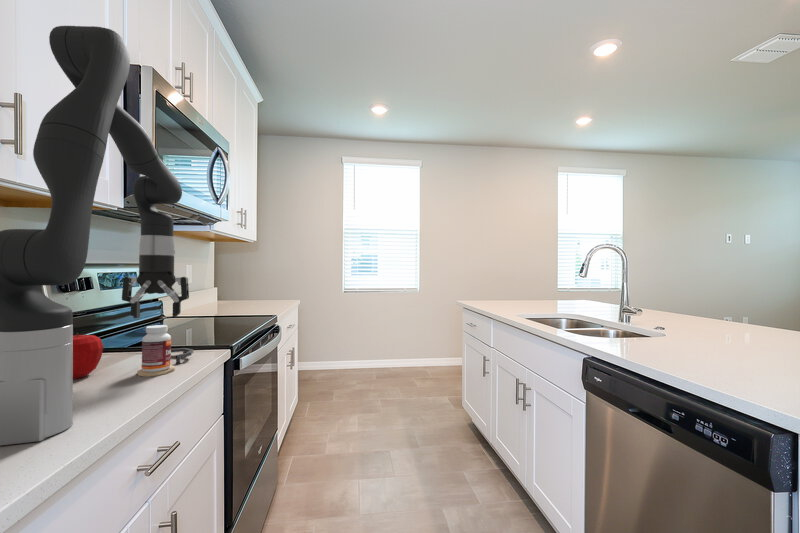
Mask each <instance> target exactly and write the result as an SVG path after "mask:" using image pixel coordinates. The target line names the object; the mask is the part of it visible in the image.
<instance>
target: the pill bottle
mask: <svg viewBox="0 0 800 533" xmlns="http://www.w3.org/2000/svg"><path fill="white" fill-rule="evenodd" d="M168 330H169V327H168V325H167V324H166V325H165V324H158V325H157V324H156V325H148V326H146V327H145V333H146V335H144V336H143V337H142V340H141V369H142V370H143V371H144V372H158V371H163V370H167V369H169V368H170V366H171V363H172V359H171V353H172V352H171V349H172V336H171V334H169V333H168Z"/></svg>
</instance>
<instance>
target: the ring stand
mask: <svg viewBox="0 0 800 533" xmlns="http://www.w3.org/2000/svg"><path fill="white" fill-rule="evenodd" d="M180 352H181V353H180ZM194 352H195V351H194V348H193V349H192V348H187V347H181V348H178V347H177V348H171V353H179V354H172V355H171V360H175V364H176V365H180V364H181V359H182V358H188V357H190V356H192V355H193V353H194Z"/></svg>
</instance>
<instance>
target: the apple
mask: <svg viewBox="0 0 800 533" xmlns="http://www.w3.org/2000/svg"><path fill="white" fill-rule="evenodd" d="M103 352H104V344H103V341H102V339H101V338H100V337H98V336H96V335H94V334H79V333H78V332H76V334H75V335H74V334H73V380H77V379H81V378H84V377H87V376H88V375H89V374H91V373H92V372H93V371H94V370H96V369H97V367H98V365H99V363H100V361H101V359H102V356H103Z"/></svg>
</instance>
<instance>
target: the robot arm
mask: <svg viewBox="0 0 800 533" xmlns="http://www.w3.org/2000/svg"><path fill="white" fill-rule="evenodd" d="M48 39H49V42H48V43H49V47H50V50H51V52H52V54H53V56H54V59H55V61H56V62H57V64H58V65H59V68H60V69H61V70H62V72H63V73H64V75H65V76H66V77H67V79H68V80H69V81H70V83H71V84H72V85H73V86H74V89H72V91H71V92H69V93H68V94H67V95H66V96H65V97H63V98H62V99H61V100H59V101H58V103H56V104H55V105H53V106H52V108H51V109H50V110H49V111H48V112H47V113H46V114H45V115H44V116H43V118H42V120H41V122H40V125H39V128H38V130H37V135H36V138H35V141H34V144H33V145H34V146H33V149H32V150H33V152H32V156H33V160H34V163H35V165H36V167H37V170H38V173H39V174H40V175H41V178H42V179H43V182H44V183H45V185H46V186H47V188H48V191H49V194H50V197H51V208H50V214H49V219H48V222H47V224H46V227H45V228H44V229H39V228H38V229H36V228H35V229H33V228H31V229H30V228H29V229H28V228H10V229H8V228H7V229H3V230H0V446H8V445H15V444H26V443H34V442H41V441H44V440H45V439H47V438H49V437H51V436H54V435H58V434H59V433H61V432H64V431H66V430H68V429H69V428H70V427H71V426H72V425H73V424H74V423H73V421H74V420H73V419H74V418H73V417H74V414H73V413H74V412H73V411H74V409H73V408H74V405H73V404H74V400H73V398H74V397H73V395H74V389H73V387H74V384H73V383H74V381H73V380H74V379H73V336H74V328H73V327H74V325H73V323H74V321H73V320H74V315H73V310H72V309H71V307H69V306H67V305H65V304H62V303H60V302H59V303H58V302H56V301H54V300H52V299H50V298H49V297H48V296H47V295H46V294H45V292H44V291H43V290H44V289H43V286H65V285H70V284H72V283H74V282H75V281H77V280H78V279H79V277H80V276H81V275H82V273H83V271H84V268H85V266H86V263H87V257H88V252H89V244H90V242H89V241H90V232H91V222H92V221H91V220H92V213H93V206H94V201H95V195H96V191H97V185H98V182H99V177H100V174H101V170H102V167H103V163H104V159H105V154H106V151H107V150H106V149H107V144H108V138H109V135H110V137H111V138H112V141H113V142H114V144H115V146H116V147H117V149H118V151H119V153H120V155H121V157H122V158H123V160H124V162H125V164H126V166H127V168H128V169H129V170H130V171H132V172H133V173H135V174H138V175H141V176H138V177H137V178H136V179H135V180H134V182H133V185H132V194H133V198H134V201H135V204H136V207H137V211H138V215H139V219H140V239H139V245H138V248H139V249H138V252H139V253H138V276H137V277H133V276H125V277H123V279H122V289H121V291H122V292H121V293H122V294H121V301H123V302H129V303H130V316H131V317H133V319H139V318H140V317H141V303H140V301H141V300H142V299H143V298H144V297H145V296H146V295H147V294H148V295H153V294H158V295H160V294H161V295H163V294H166V295H167V296H168V297H170V299H171V300H172V301H173V302H172V318H177V317H178V316H179V315H180V314H181V310H182V309H181V308H182V307H181V306H182V305H181V303H182V302H183V301H185V300H188V299H190V291H189V290H190V288H189V278H188V276H181V277H176V275H175V254H176V251H175V241H174V217H173V216H172V215H170V214H169V213H168V214H167V213H164V212H160V211H158V209H157V207H156V205H174V204H177V203H178V202H180V201H181V199H182V196H183V189H182V186H181V184H180V181H179V180H178V178H177V177H176V175H175V174H174V173H173V172H172V170H170V169H169V167H168V166H167V165H166V164H165V163H164V161H162V159H161V158H160V155H159V154H158V151H157V149H156V148H155V145H154V143H153V141H152V139H151V137H150V135H149V134H148V132H147V131H146V130H145V128H144V127H143V126H142V125H141V124H140V123H139V122H138V121H137V120H136V119H135V118H134V117H133V116H132V115H130V114H129V112H127V111H126V110H125V109H123V108H124V107H122V106H120V105H119V103H118V102H119V100H120V98H121V95H122V92H123V90H124V87H125V85H126V82H127V80H128V77H129V73H130V67H131V58H130V52H129V49H128V46H127V44H126V42H125V40H124V38H123V37H122V36H121V35H120V34H119V33H117V31H114V30H113V29H111V28H107V27H102V26H92V25H91V26H85V25H84V26H83V25H57V26H55V27H53V28H52V29H51V31H50V32H49V37H48ZM136 283H137V285H139V286H140V287H139V289H138V290H137V291H136V292H135V294H134V295H133V294H132V293H133V286H135V285H136ZM175 283H177V284H178V286H180V294H181V295H179V294H178V293H177V291H176V290H175V289H174V288H173V286H174V284H175ZM132 295H133V296H132Z"/></svg>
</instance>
